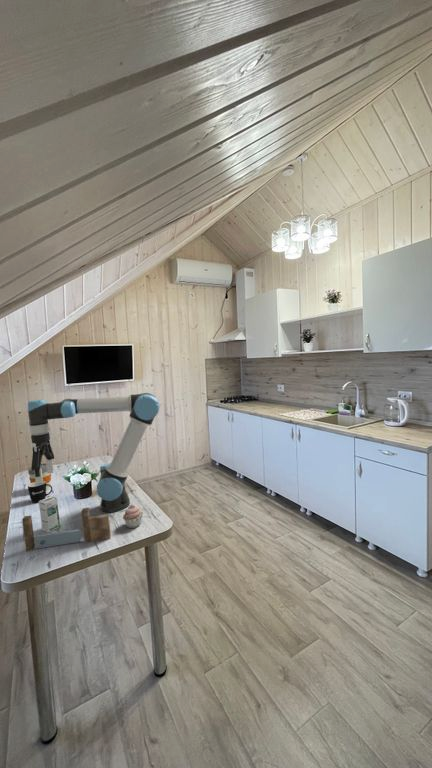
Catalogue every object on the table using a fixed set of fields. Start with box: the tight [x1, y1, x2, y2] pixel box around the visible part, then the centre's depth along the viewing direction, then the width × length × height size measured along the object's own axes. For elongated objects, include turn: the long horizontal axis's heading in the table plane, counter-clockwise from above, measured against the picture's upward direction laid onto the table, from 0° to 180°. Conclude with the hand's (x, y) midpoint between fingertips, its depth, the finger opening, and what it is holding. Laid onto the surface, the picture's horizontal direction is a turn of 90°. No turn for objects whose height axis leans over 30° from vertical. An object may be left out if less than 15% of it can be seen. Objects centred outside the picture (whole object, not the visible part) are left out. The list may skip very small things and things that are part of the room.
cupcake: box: [122, 503, 144, 529], centre depth 148 cm, size 9×9×10 cm
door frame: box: [21, 507, 112, 552], centre depth 136 cm, size 34×2×14 cm, turn 99°
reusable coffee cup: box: [27, 463, 52, 492], centre depth 200 cm, size 13×13×15 cm
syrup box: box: [38, 496, 61, 534], centre depth 149 cm, size 6×6×14 cm
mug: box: [27, 481, 53, 504], centre depth 184 cm, size 12×9×10 cm
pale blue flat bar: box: [34, 528, 82, 549], centre depth 135 cm, size 18×2×5 cm, turn 99°
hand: (45, 477), depth 148 cm, fingers open, 13 cm apart
